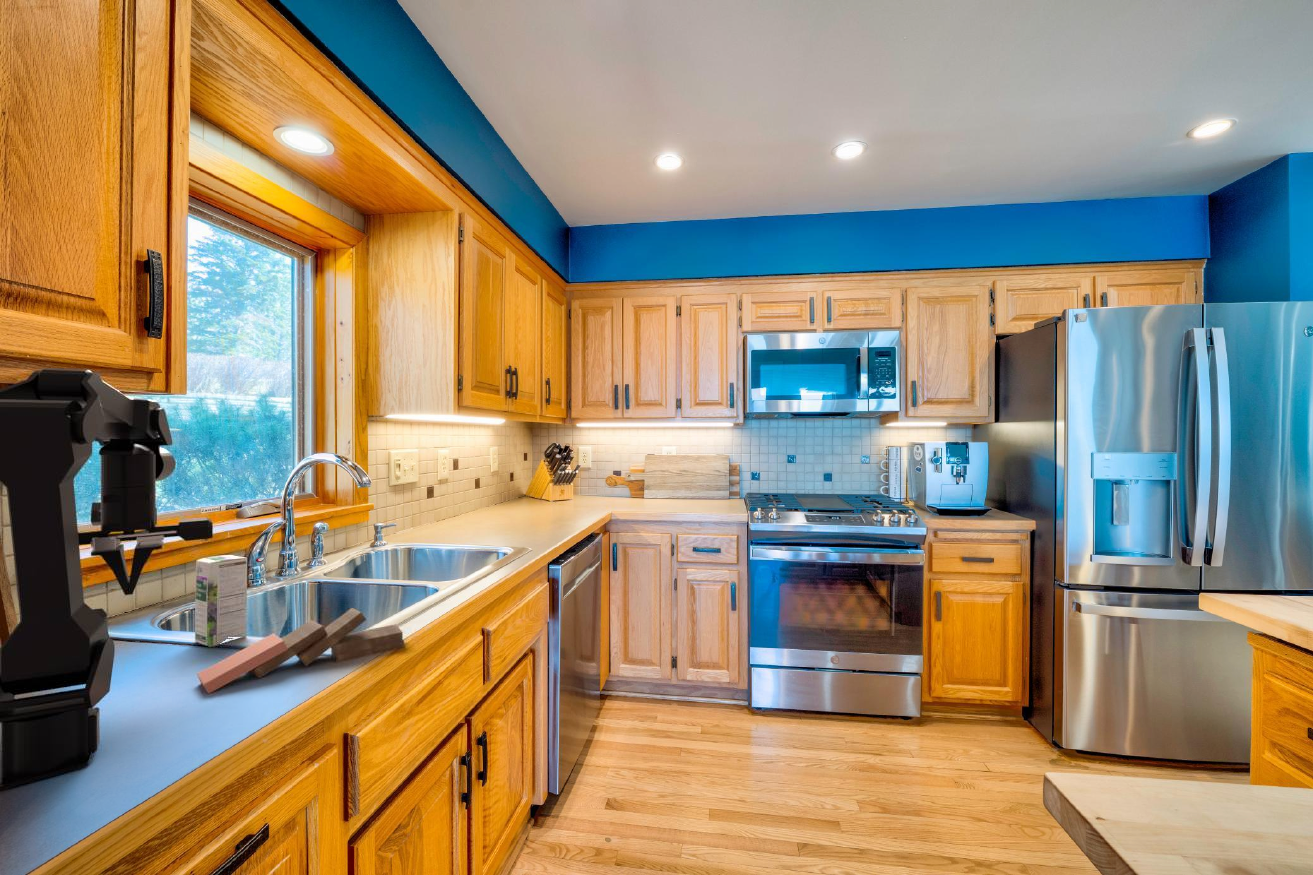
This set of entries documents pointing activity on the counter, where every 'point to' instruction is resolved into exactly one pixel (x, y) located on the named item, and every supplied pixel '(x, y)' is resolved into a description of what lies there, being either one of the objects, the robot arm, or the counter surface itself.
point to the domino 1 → (241, 662)
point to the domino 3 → (332, 635)
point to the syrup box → (220, 599)
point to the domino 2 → (293, 646)
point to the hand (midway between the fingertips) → (129, 594)
